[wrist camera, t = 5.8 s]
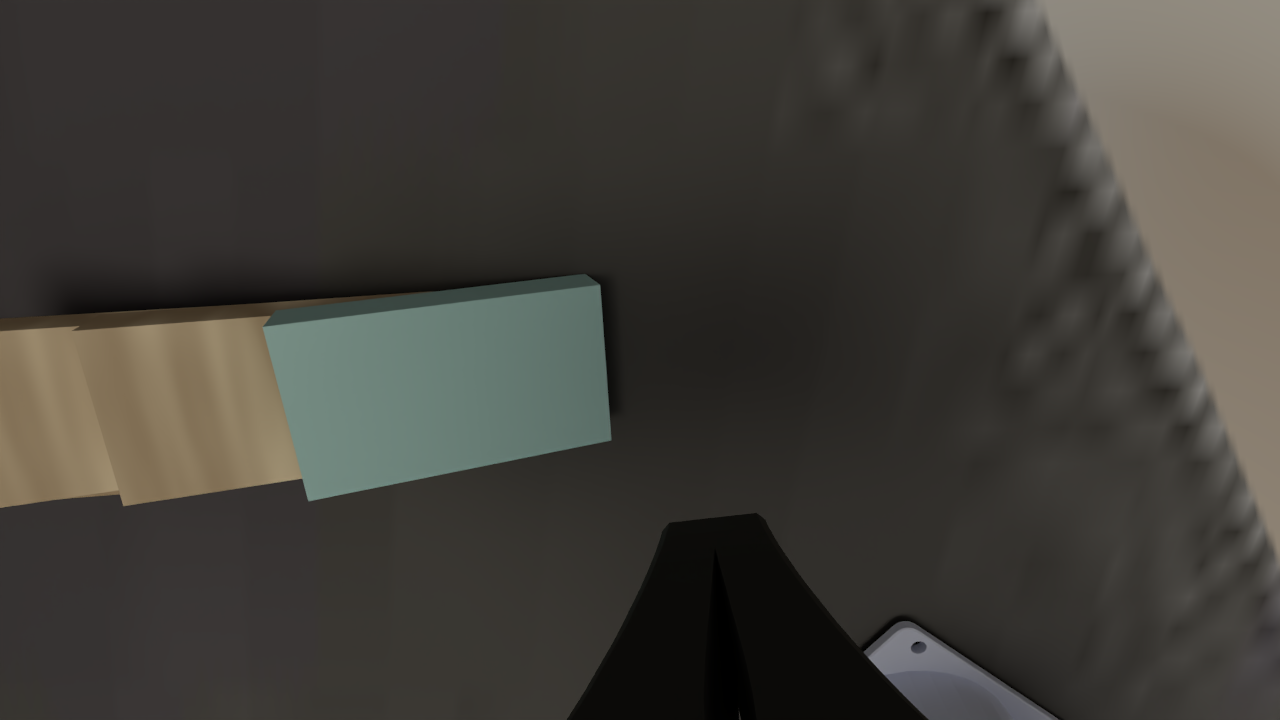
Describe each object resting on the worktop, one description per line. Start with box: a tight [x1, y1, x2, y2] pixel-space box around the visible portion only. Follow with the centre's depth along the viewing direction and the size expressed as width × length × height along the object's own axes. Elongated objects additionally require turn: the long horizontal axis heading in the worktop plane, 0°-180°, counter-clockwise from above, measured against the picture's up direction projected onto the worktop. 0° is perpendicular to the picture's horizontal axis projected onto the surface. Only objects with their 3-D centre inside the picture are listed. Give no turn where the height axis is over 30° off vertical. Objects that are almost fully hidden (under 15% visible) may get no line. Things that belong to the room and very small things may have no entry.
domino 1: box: [0, 304, 242, 508], centre depth 17 cm, size 2×5×8 cm
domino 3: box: [263, 274, 611, 501], centre depth 17 cm, size 2×5×8 cm
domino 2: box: [71, 291, 433, 506], centre depth 17 cm, size 2×5×8 cm
